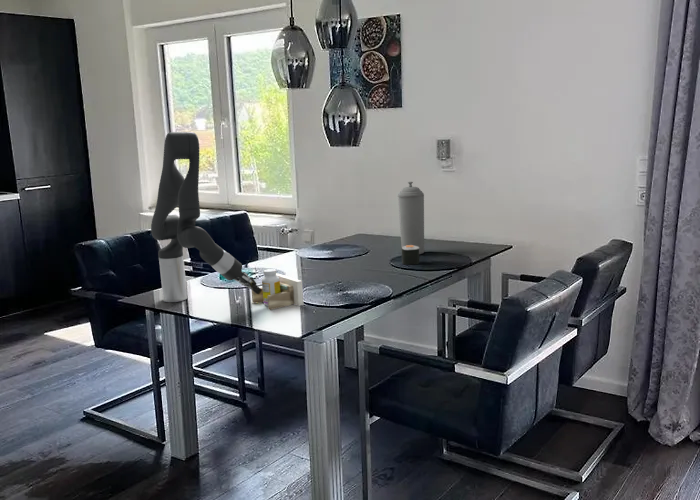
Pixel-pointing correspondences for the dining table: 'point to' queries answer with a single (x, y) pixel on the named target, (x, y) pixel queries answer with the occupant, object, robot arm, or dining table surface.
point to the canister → (412, 217)
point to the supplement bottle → (270, 284)
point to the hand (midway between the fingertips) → (259, 291)
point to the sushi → (410, 255)
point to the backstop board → (296, 288)
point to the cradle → (276, 297)
